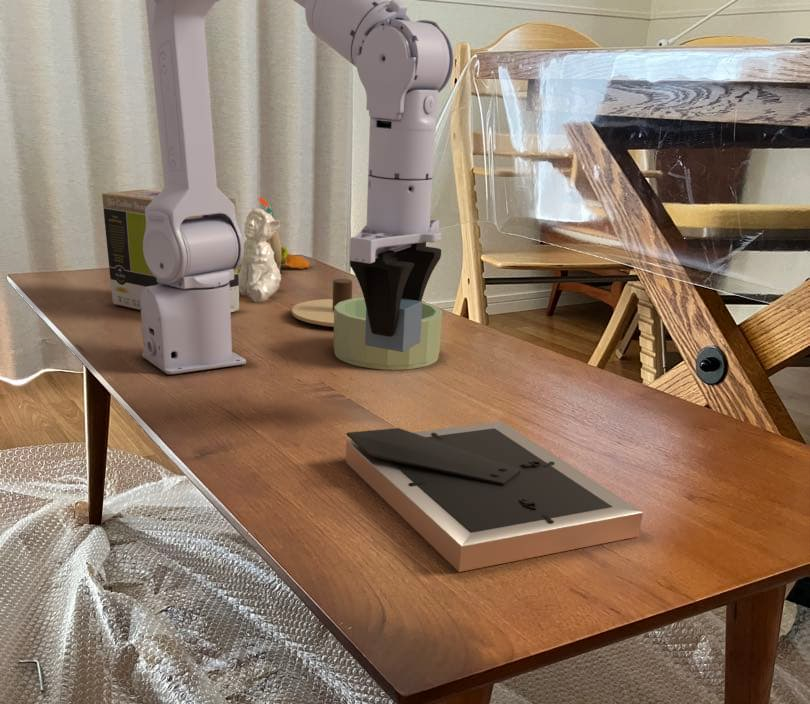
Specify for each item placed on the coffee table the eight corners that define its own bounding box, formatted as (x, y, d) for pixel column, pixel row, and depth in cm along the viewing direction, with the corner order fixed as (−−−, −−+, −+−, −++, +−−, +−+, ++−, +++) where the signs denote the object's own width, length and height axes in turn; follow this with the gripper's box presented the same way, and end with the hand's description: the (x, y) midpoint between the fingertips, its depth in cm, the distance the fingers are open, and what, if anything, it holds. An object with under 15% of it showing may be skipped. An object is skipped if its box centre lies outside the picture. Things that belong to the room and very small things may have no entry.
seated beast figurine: (211, 292, 135) (207, 206, 129) (251, 283, 141) (249, 201, 136) (258, 303, 130) (256, 215, 125) (298, 294, 136) (298, 209, 131)
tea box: (242, 311, 126) (238, 197, 119) (190, 324, 118) (183, 204, 111) (163, 293, 133) (155, 184, 126) (109, 305, 125) (98, 190, 118)
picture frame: (345, 462, 80) (458, 572, 64) (346, 432, 79) (462, 536, 62) (499, 441, 86) (638, 536, 70) (502, 413, 85) (644, 503, 69)
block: (402, 352, 85) (404, 309, 83) (364, 345, 86) (365, 302, 85) (420, 342, 88) (422, 301, 86) (383, 336, 90) (385, 295, 88)
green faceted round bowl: (371, 375, 103) (372, 327, 100) (315, 347, 112) (315, 302, 109) (459, 361, 109) (462, 315, 107) (399, 335, 118) (401, 293, 116)
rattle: (311, 275, 149) (311, 201, 143) (260, 274, 147) (258, 199, 142) (309, 266, 155) (309, 195, 150) (260, 265, 154) (258, 193, 149)
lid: (324, 336, 116) (324, 296, 114) (274, 312, 126) (273, 274, 124) (411, 325, 124) (413, 287, 121) (357, 303, 133) (358, 267, 131)
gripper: (406, 188, 73) (398, 354, 79) (472, 174, 85) (460, 320, 91) (329, 179, 76) (327, 340, 82) (404, 167, 87) (397, 309, 94)
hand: (393, 329), depth 87 cm, fingers closed on block, 4 cm apart
